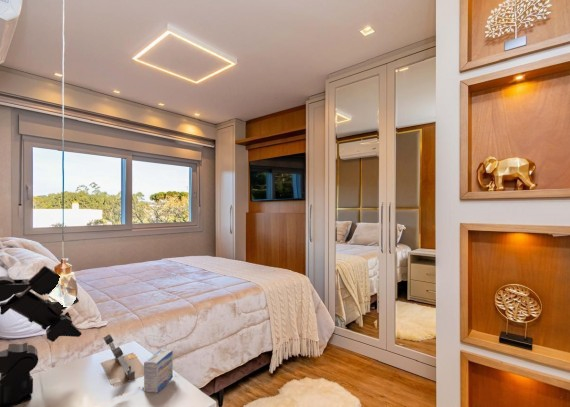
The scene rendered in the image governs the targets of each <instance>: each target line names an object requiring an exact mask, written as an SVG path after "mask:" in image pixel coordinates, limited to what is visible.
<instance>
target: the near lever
mask: <svg viewBox="0 0 570 407" xmlns="http://www.w3.org/2000/svg"><path fill="white" fill-rule="evenodd" d="M115 348H116V349H114V350H112V351H111V353H112V352H113V353H112V354H114V355H113V356H115V357H116V359H117V358H118V360H119V362H120V364H121V366H122V368H123V370H124V372H125V374H126V375H127V377H128V373H129V372H131V371H130V369H129V367H128V365H127V364H126V362H125V360H124V358H123V356H124V352H123V350H122V349H121V347H120V346H117V347H115ZM115 357H114V358H115Z"/></svg>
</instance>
